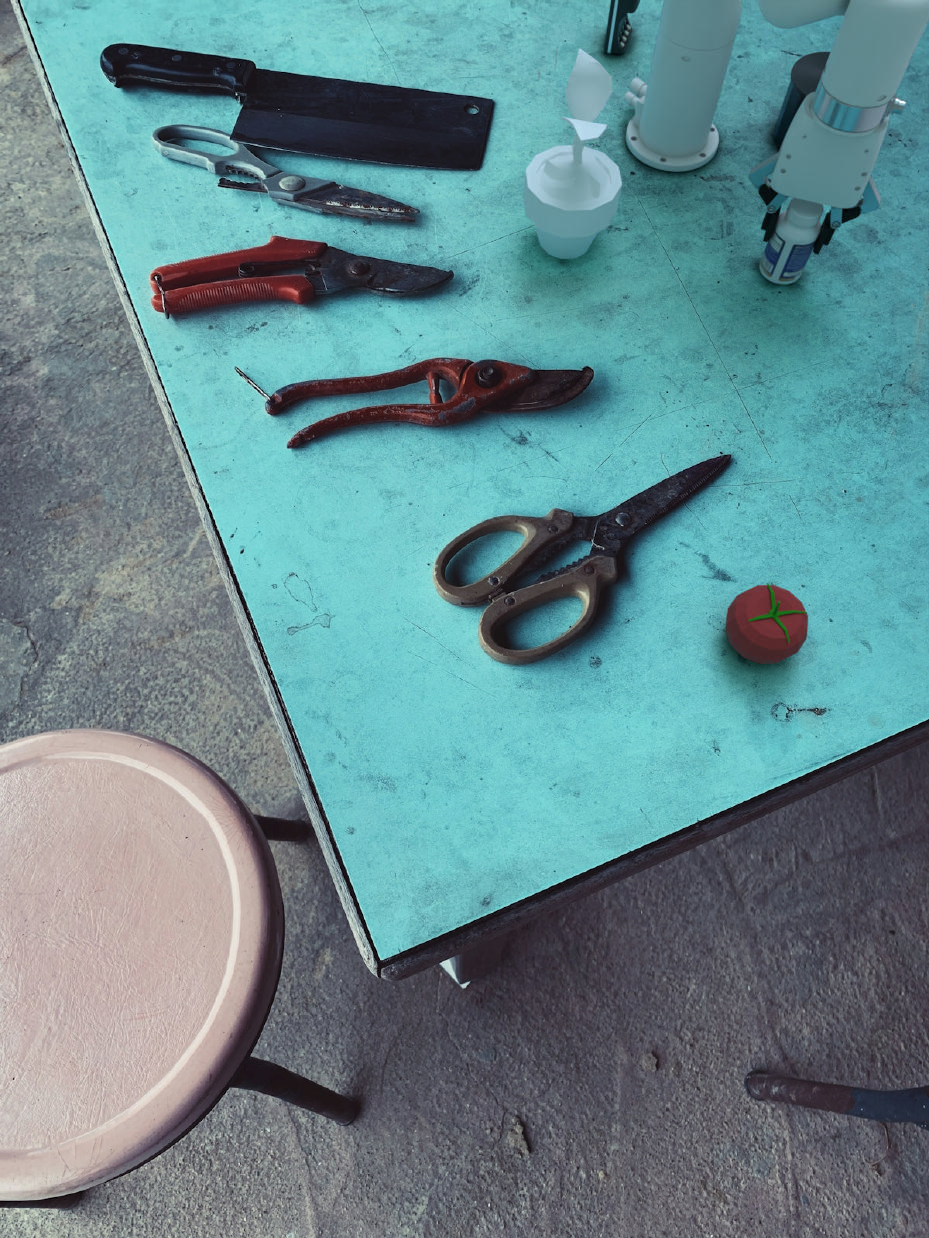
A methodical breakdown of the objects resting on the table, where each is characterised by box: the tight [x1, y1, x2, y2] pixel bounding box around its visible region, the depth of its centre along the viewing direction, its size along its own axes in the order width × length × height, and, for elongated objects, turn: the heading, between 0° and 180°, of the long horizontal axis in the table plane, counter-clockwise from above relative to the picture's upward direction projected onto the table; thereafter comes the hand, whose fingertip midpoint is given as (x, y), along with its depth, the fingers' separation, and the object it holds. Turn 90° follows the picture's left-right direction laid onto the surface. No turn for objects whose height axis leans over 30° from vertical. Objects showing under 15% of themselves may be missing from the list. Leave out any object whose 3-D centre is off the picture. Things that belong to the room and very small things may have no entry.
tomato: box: [724, 582, 809, 665], centre depth 91 cm, size 8×8×8 cm
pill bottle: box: [759, 197, 825, 285], centre depth 112 cm, size 5×5×10 cm
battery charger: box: [603, 0, 641, 55], centre depth 131 cm, size 7×4×11 cm, turn 163°
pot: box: [772, 80, 805, 151], centre depth 124 cm, size 10×10×8 cm
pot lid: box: [789, 51, 831, 98], centre depth 118 cm, size 11×11×5 cm
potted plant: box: [523, 43, 623, 260], centre depth 107 cm, size 13×12×25 cm
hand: (792, 239), depth 112 cm, fingers closed on pill bottle, 5 cm apart
